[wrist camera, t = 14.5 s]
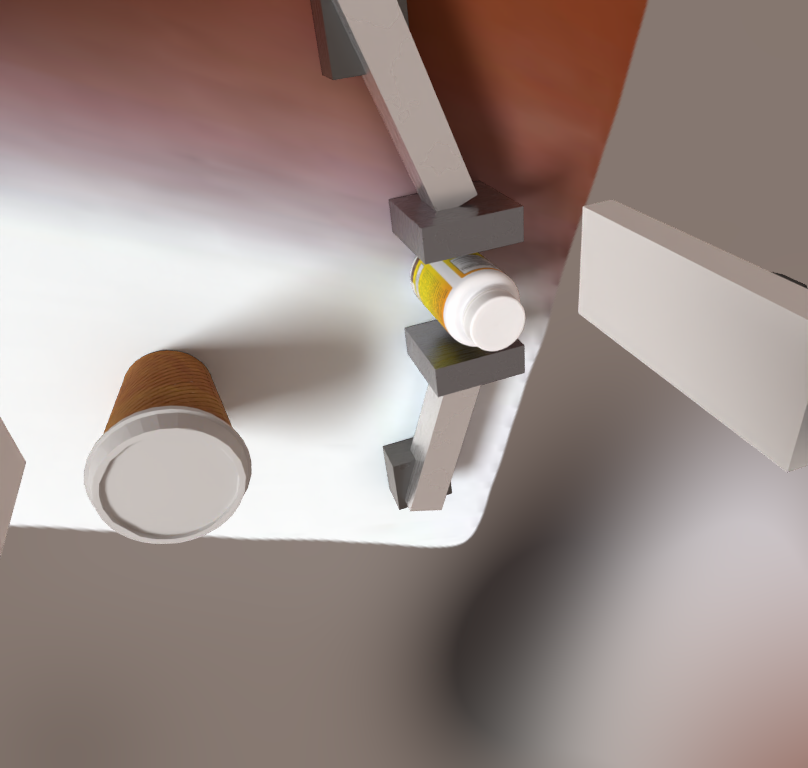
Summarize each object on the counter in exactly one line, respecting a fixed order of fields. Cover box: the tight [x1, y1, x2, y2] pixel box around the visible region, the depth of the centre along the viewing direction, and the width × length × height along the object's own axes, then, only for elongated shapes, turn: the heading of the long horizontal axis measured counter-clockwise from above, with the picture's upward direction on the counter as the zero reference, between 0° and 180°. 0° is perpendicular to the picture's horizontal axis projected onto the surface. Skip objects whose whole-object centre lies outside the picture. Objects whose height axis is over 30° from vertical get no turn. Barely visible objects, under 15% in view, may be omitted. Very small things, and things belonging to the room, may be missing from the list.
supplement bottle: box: [410, 252, 525, 351], centre depth 46 cm, size 6×6×10 cm
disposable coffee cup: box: [84, 350, 251, 544], centre depth 43 cm, size 10×10×12 cm
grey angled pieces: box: [310, 0, 525, 511], centre depth 47 cm, size 10×40×7 cm, turn 6°
